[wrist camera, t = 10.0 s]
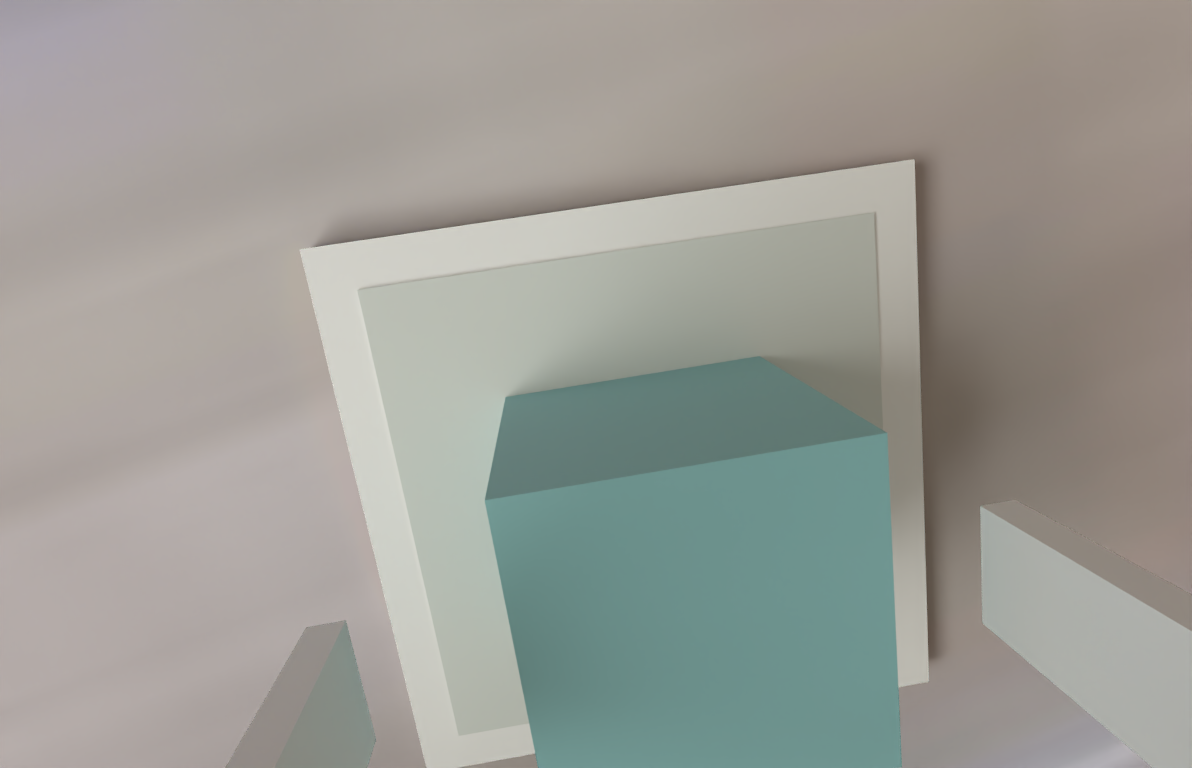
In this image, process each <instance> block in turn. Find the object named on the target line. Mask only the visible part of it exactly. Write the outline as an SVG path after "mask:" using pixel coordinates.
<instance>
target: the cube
mask: <svg viewBox="0 0 1192 768" xmlns="http://www.w3.org/2000/svg"><path fill="white" fill-rule="evenodd" d="M485 505H486V510H487V515H488V520H489V525H490V530H491V535H492V540H493V545H494V550H495V555H496V560H497V565H498V570H499V575H500V580H501V585H502V590H503V595H504V600H505V605H506V610H507V615H508V620H509V625H510V630H511V635H512V640H513V645H514V650H515V655H516V660H517V665H518V670H519V675H520V680H521V685H522V690H523V695H524V700H525V705H526V710H527V715H528V720H529V725H530V730H531V735H532V740H533V745H534V750H535V755H536V760H537V765H538V768H899V767H902V759H901V736H900V713H899V690H898V667H897V644H896V621H895V598H894V575H893V552H892V529H891V506H890V483H889V460H888V437H887V432H885V431H883V430H882V429H880V428H878V427H877V426H875V425H873V424H872V423H870V422H868V421H867V420H865V419H863V418H862V417H860V416H858V415H857V414H855V413H853V412H852V411H850V410H848V409H847V408H845V407H843V406H842V405H840V404H838V403H837V402H835V401H833V400H832V399H830V398H828V397H827V396H825V395H823V394H822V393H820V392H818V391H817V390H815V389H814V388H812V387H810V386H809V385H807V384H805V383H804V382H802V381H800V380H799V379H797V378H795V377H794V376H792V375H790V374H789V373H787V372H785V371H784V370H782V369H780V368H779V367H777V366H775V365H774V364H772V363H770V362H769V361H767V360H765V359H764V358H762V357H760V356H757V357H751V358H744V359H738V360H732V361H726V362H720V363H713V364H707V365H701V366H695V367H689V368H682V369H676V370H670V371H664V372H658V373H651V374H645V375H639V376H633V377H627V378H620V379H614V380H608V381H602V382H596V383H589V384H583V385H577V386H571V387H565V388H558V389H552V390H546V391H540V392H534V393H527V394H521V395H515V396H509V397H505V402H504V407H503V412H502V417H501V422H500V427H499V432H498V437H497V442H496V447H495V452H494V456H493V461H492V466H491V471H490V476H489V481H488V486H487V491H486V496H485Z"/></svg>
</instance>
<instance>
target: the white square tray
mask: <svg viewBox="0 0 1192 768" xmlns="http://www.w3.org/2000/svg"><path fill="white" fill-rule="evenodd" d="M300 253H301V257H302V261H303V266H304V270H305V274H306V278H307V282H308V286H309V290H310V294H311V298H312V302H313V306H314V311H315V315H316V319H317V323H318V327H319V331H320V335H321V339H322V343H323V347H324V351H325V355H326V360H327V364H328V368H329V372H330V376H331V380H332V384H333V388H334V392H335V396H336V400H337V404H338V409H339V413H340V417H341V421H342V425H343V429H344V433H345V437H346V441H347V445H348V449H349V454H350V458H351V462H352V466H353V470H354V474H355V478H356V482H357V486H358V490H359V494H360V498H361V503H362V507H363V511H364V515H365V519H366V523H367V527H368V531H369V535H370V539H371V543H372V547H373V552H374V556H375V560H376V564H377V568H378V572H379V576H380V580H381V584H382V588H383V592H384V596H385V601H386V605H387V609H388V613H389V617H390V621H391V625H392V629H393V633H394V637H395V641H396V646H397V650H398V654H399V658H400V662H401V666H402V670H403V674H404V678H405V682H406V686H407V690H408V695H409V699H410V703H411V707H412V711H413V715H414V719H415V723H416V727H417V731H418V735H419V739H420V744H421V748H422V752H423V756H424V760H425V764H426V768H459V767H464V766H470V765H475V764H481V763H486V762H492V761H497V760H503V759H508V758H514V757H519V756H524V755H530V754H535V750H534V745H533V740H532V735H531V730H530V725H529V720H528V715H527V710H526V705H525V700H524V695H523V690H522V685H521V680H520V675H519V670H518V665H517V660H516V655H515V650H514V645H513V640H512V635H511V630H510V625H509V620H508V615H507V610H506V605H505V600H504V595H503V590H502V585H501V580H500V575H499V570H498V565H497V560H496V555H495V550H494V545H493V540H492V535H491V530H490V525H489V520H488V515H487V510H486V505H485V496H486V491H487V486H488V481H489V476H490V471H491V466H492V461H493V456H494V452H495V447H496V442H497V437H498V432H499V427H500V422H501V417H502V412H503V407H504V402H505V397H509V396H515V395H521V394H527V393H534V392H540V391H546V390H552V389H558V388H565V387H571V386H577V385H583V384H589V383H596V382H602V381H608V380H614V379H620V378H627V377H633V376H639V375H645V374H651V373H658V372H664V371H670V370H676V369H682V368H689V367H695V366H701V365H707V364H713V363H720V362H726V361H732V360H738V359H744V358H751V357H757V356H760V357H762V358H764V359H765V360H767V361H769V362H770V363H772V364H774V365H775V366H777V367H779V368H780V369H782V370H784V371H785V372H787V373H789V374H790V375H792V376H794V377H795V378H797V379H799V380H800V381H802V382H804V383H805V384H807V385H809V386H810V387H812V388H814V389H815V390H817V391H818V392H820V393H822V394H823V395H825V396H827V397H828V398H830V399H832V400H833V401H835V402H837V403H838V404H840V405H842V406H843V407H845V408H847V409H848V410H850V411H852V412H853V413H855V414H857V415H858V416H860V417H862V418H863V419H865V420H867V421H868V422H870V423H872V424H873V425H875V426H877V427H878V428H880V429H882V430H883V431H885V432H887V437H888V460H889V483H890V506H891V529H892V552H893V575H894V598H895V621H896V644H897V667H898V687H903V686H909V685H914V684H920V683H925V682H929V666H928V630H927V593H926V557H925V520H924V483H923V447H922V410H921V374H920V337H919V301H918V264H917V228H916V191H915V159H912V160H905V161H898V162H892V163H885V164H878V165H871V166H864V167H858V168H851V169H844V170H837V171H830V172H824V173H817V174H810V175H803V176H796V177H789V178H783V179H776V180H769V181H762V182H755V183H749V184H742V185H735V186H728V187H721V188H714V189H708V190H701V191H694V192H687V193H680V194H674V195H667V196H660V197H653V198H646V199H639V200H633V201H626V202H619V203H612V204H605V205H599V206H592V207H585V208H578V209H571V210H564V211H558V212H551V213H544V214H537V215H530V216H524V217H517V218H510V219H503V220H496V221H490V222H483V223H476V224H469V225H462V226H455V227H449V228H442V229H435V230H428V231H421V232H415V233H408V234H401V235H394V236H387V237H380V238H374V239H367V240H360V241H353V242H346V243H340V244H333V245H326V246H319V247H312V248H305V249H300Z"/></svg>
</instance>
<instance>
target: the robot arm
mask: <svg viewBox="0 0 1192 768" xmlns="http://www.w3.org/2000/svg"><path fill="white" fill-rule="evenodd" d="M980 517H981V572H982V623H983V624H984V625H985V626H986V627H988V628H989V629H990V630H991V631H992V632H993V633H995V634H996V635H997V636H998V637H999V638H1001V639H1002V640H1003V641H1004V642H1005V643H1006V644H1008V645H1009V646H1010V647H1011V648H1012V649H1013V650H1015V651H1016V652H1017V653H1018V654H1019V655H1021V656H1022V657H1023V658H1024V659H1025V660H1026V661H1028V662H1029V663H1030V664H1031V665H1032V666H1033V667H1035V668H1036V669H1037V670H1038V671H1039V672H1041V673H1042V674H1043V675H1044V676H1045V677H1046V678H1048V679H1049V680H1050V681H1051V682H1052V683H1054V684H1055V685H1056V686H1057V687H1058V688H1059V689H1061V690H1062V691H1063V692H1064V693H1065V694H1066V695H1068V696H1069V697H1070V698H1071V699H1072V700H1074V701H1075V702H1076V703H1077V704H1078V705H1079V706H1081V707H1082V708H1083V709H1084V710H1085V711H1086V712H1088V713H1089V714H1090V715H1091V716H1092V717H1094V718H1095V719H1096V720H1097V721H1098V722H1099V723H1101V724H1102V725H1103V726H1104V727H1105V728H1106V729H1108V730H1109V731H1110V732H1111V733H1112V734H1114V735H1115V736H1116V737H1117V738H1118V739H1119V740H1121V741H1122V742H1123V743H1124V744H1125V745H1126V746H1128V747H1129V748H1130V749H1131V750H1132V751H1134V752H1135V753H1136V754H1137V755H1138V756H1139V757H1141V758H1142V759H1143V760H1144V761H1145V762H1146V763H1148V764H1149V765H1150V766H1151V767H1152V768H1192V595H1191V594H1190V593H1188V592H1186V591H1184V590H1182V589H1180V588H1178V587H1177V586H1175V585H1173V584H1171V583H1169V582H1167V581H1165V580H1164V579H1162V578H1160V577H1158V576H1156V575H1154V574H1152V573H1151V572H1149V571H1147V570H1145V569H1143V568H1141V567H1139V566H1138V565H1136V564H1134V563H1132V562H1130V561H1128V560H1126V559H1125V558H1123V557H1121V556H1119V555H1117V554H1115V553H1113V552H1111V551H1110V550H1108V549H1106V548H1104V547H1102V546H1100V545H1098V544H1097V543H1095V542H1093V541H1091V540H1089V539H1087V538H1085V537H1084V536H1082V535H1080V534H1078V533H1076V532H1074V531H1072V530H1071V529H1069V528H1067V527H1065V526H1063V525H1061V524H1059V523H1058V522H1056V521H1054V520H1052V519H1050V518H1048V517H1046V516H1045V515H1043V514H1041V513H1039V512H1037V511H1035V510H1033V509H1032V508H1030V507H1028V506H1026V505H1024V504H1022V503H1020V502H1018V501H1017V500H1010V501H1005V502H999V503H994V504H988V505H983V506H980ZM375 741H376V738H375V734H374V730H373V726H372V722H371V718H370V714H369V710H368V706H367V702H366V698H365V694H364V690H363V686H362V683H361V679H360V675H359V671H358V667H357V663H356V659H355V655H354V651H353V647H352V643H351V639H350V635H349V631H348V627H347V623H346V620H345V621H340V622H334V623H329V624H323V625H318V626H312V627H307V628H306V629H305V631H304V632H303V634H302V636H301V638H300V639H299V641H298V643H297V645H296V646H295V648H294V650H293V651H292V653H291V655H290V657H289V658H288V660H287V662H286V664H285V665H284V667H283V669H282V671H281V672H280V674H279V676H278V678H277V679H276V681H275V683H274V684H273V686H272V688H271V690H270V691H269V693H268V695H267V697H266V698H265V700H264V702H263V704H262V705H261V707H260V709H259V710H258V712H257V714H256V716H255V717H254V719H253V721H252V723H251V724H250V726H249V728H248V730H247V731H246V733H245V735H244V736H243V738H242V740H241V742H240V743H239V745H238V747H237V749H236V750H235V752H234V754H233V756H232V757H231V759H230V761H229V762H228V764H227V766H226V768H367V767H368V764H369V760H370V757H371V754H372V751H373V747H374V744H375Z"/></svg>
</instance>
